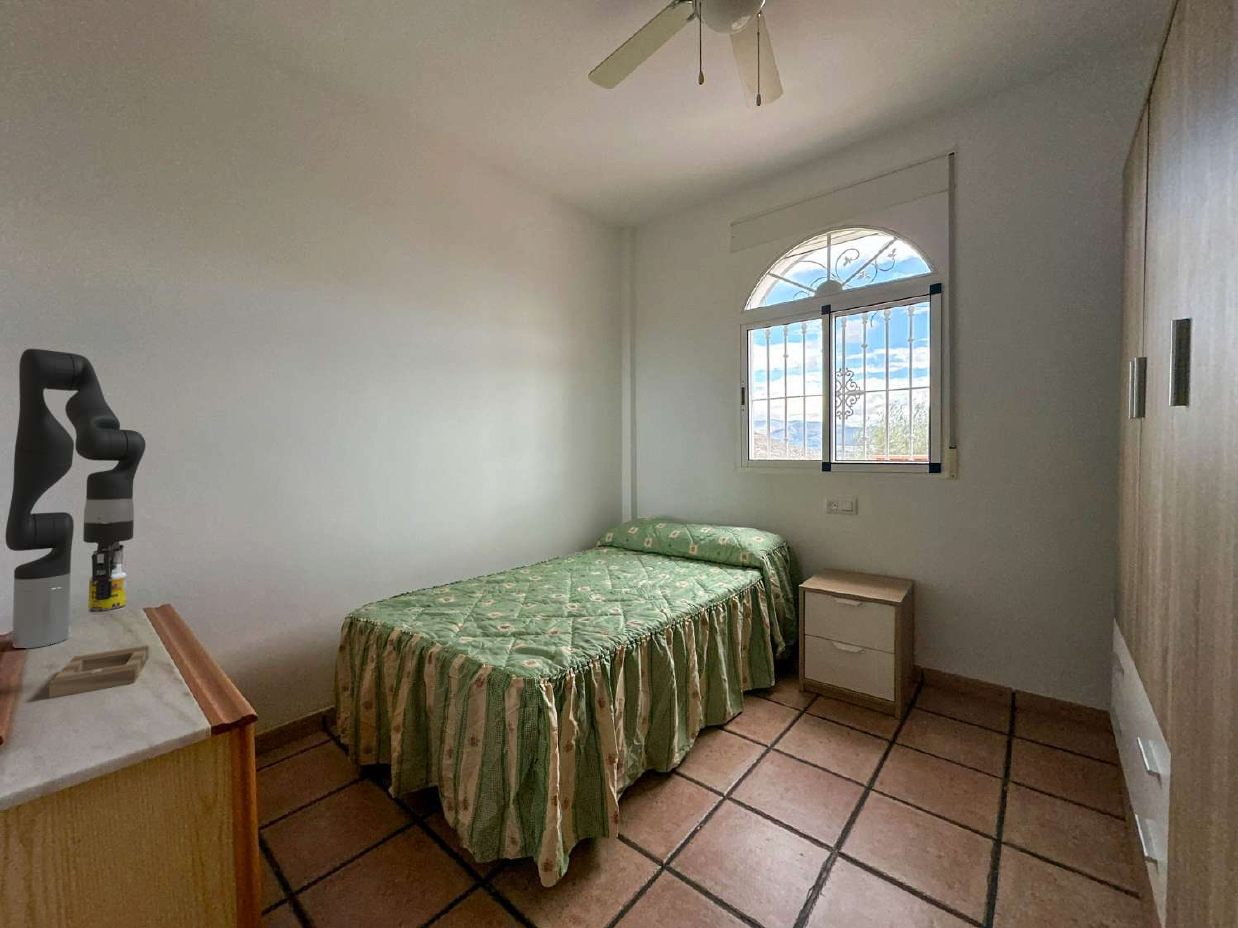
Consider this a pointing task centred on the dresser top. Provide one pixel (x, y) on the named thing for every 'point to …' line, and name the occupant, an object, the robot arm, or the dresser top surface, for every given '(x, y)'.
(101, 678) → the holder block
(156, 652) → the dresser top surface
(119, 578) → the supplement bottle
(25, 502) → the robot arm
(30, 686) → the dresser top surface
